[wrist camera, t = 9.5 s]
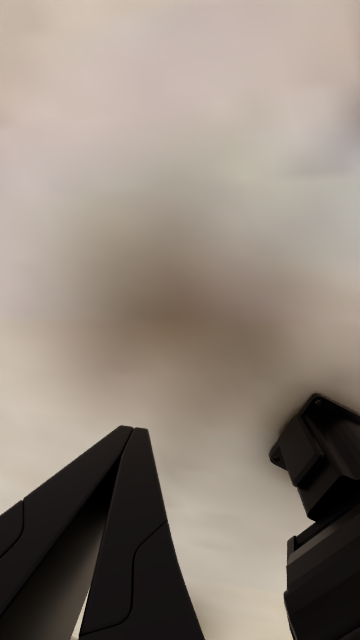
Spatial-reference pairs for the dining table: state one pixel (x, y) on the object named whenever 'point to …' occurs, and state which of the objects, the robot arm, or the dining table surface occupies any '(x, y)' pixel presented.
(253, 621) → the dining table surface
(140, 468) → the robot arm
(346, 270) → the dining table surface
